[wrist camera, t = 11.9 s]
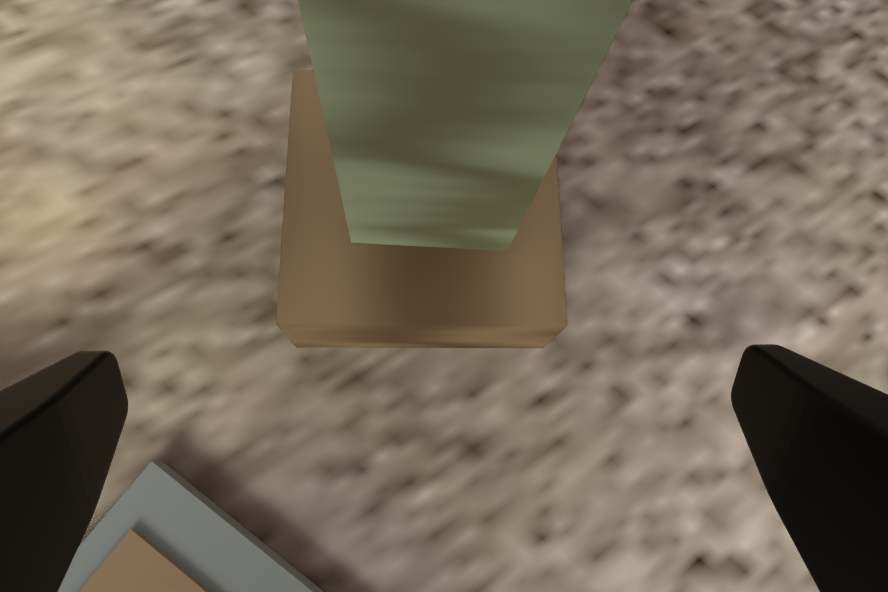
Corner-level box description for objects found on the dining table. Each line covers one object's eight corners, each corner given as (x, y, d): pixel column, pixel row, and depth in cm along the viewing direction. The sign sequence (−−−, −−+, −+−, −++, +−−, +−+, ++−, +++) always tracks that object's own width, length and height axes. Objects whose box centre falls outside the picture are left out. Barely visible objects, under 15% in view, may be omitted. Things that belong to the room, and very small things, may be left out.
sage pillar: (508, 113, 21) (636, -304, 10) (507, 251, 20) (654, -43, 8) (361, 103, 21) (315, -338, 9) (351, 242, 20) (281, -75, 8)
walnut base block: (529, 135, 26) (551, 76, 22) (541, 349, 23) (567, 325, 19) (310, 130, 25) (293, 69, 21) (298, 349, 23) (275, 324, 19)
